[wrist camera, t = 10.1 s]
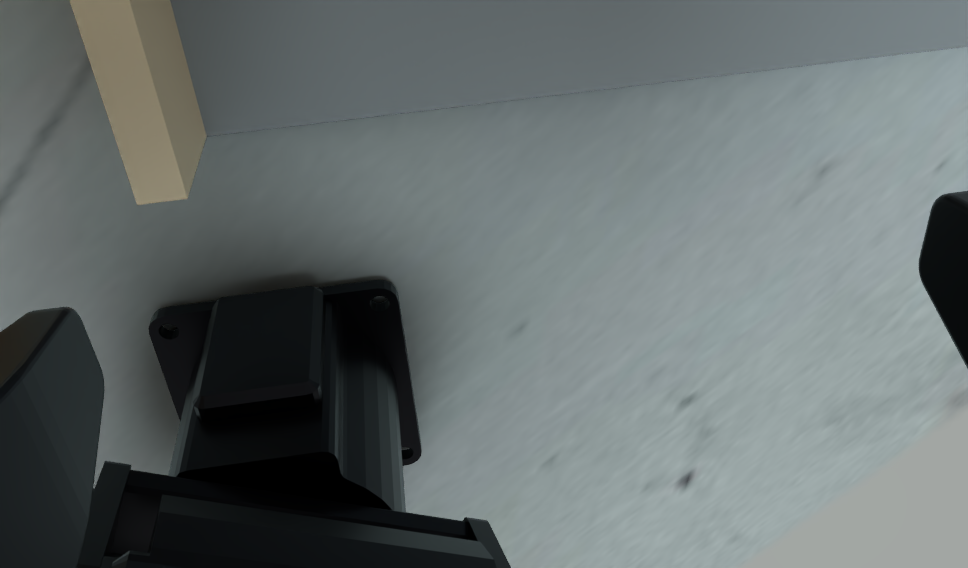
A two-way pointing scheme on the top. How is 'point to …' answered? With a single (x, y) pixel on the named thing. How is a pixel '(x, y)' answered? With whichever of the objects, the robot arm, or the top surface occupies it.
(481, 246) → the top surface
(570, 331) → the top surface
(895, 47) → the board
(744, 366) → the top surface
